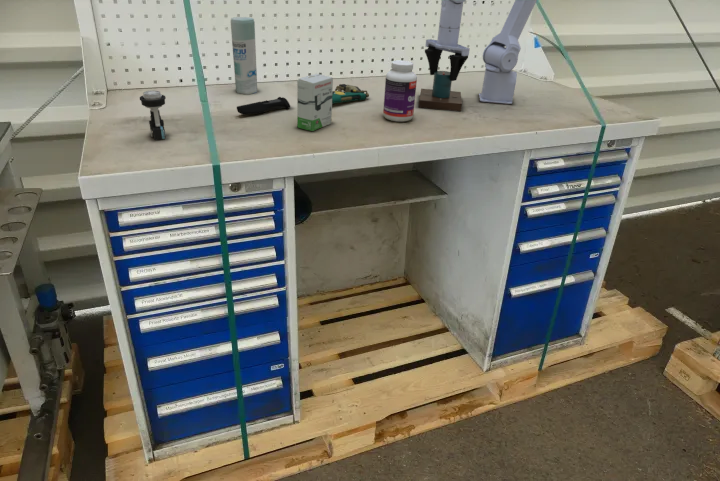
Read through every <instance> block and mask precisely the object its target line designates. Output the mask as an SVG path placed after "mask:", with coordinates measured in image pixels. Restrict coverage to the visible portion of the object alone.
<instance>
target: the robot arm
mask: <svg viewBox="0 0 720 481" xmlns="http://www.w3.org/2000/svg"><path fill="white" fill-rule="evenodd" d="M466 1H467V0H441V1H440V14H439V22H438V30H437V31H438V32H437V39H432V38H430V39H429V38H428V39H425V46H424V47H425V49H424V54H425V56H426V59H427V62H428V67H429V74H430V76H434V72H435V71H439V64H440V60H441V56H442V54H443V51H444V52H448V53H452V54H449V63H450V64H449V65H450V70H449V72H450V81H452V82H454V81H457V79H458V76H459V74H460V72H461V69H462V68H463V66H464V64H465V62H466V61H467V60H468V59H469V56H470V47H467V46H464V45H461V44H459V36H460V30H461V29H460V28H461V24H462V16H463V8H464V3H465V2H466ZM537 1H538V0H514V1H513V4H512V7H511V9H510V10H509V13H508V15H507V18H506V19H505V22H504V24H503V25H502V27H501V28H502V29H501V30H500V32H499V33H498V34H496V35H495V36H493V37H492V38H491V40H490V42H489V44H488V45H486V47H485V48H484V50H483V52H482V61H483V63H484V68H485V70H484V76H483V82H482V87H481V92H479V93H478V99H479V102H482V103H492V104H493V103H495V104H506V105H513V100H514V95H515V90H516V84H517V77H518V73H517V71H514V70H513V69H514V68H516V66H517V64H518V61H519V54H520V51H521V49H522V48H521V45H520V42H519V39H520V37H521V35H522V32H523V31H524V29H525V26H526V24H527V23H528V20H529V17H530V16H531V13H532V11H533V9H534V7H535V5H536V3H537Z"/></svg>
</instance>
